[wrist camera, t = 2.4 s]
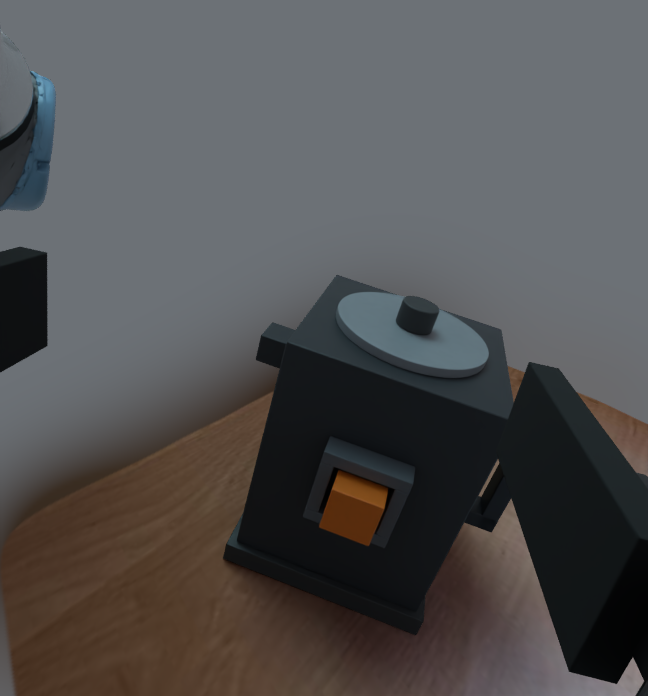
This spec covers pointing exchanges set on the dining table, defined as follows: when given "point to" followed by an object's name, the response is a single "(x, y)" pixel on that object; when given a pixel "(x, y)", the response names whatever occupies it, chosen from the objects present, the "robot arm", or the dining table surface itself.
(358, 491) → the kettle switch
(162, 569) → the dining table surface
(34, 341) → the robot arm
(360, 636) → the dining table surface
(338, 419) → the kettle
